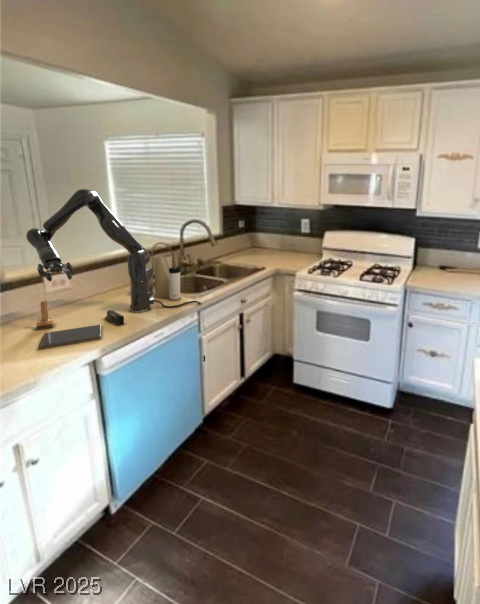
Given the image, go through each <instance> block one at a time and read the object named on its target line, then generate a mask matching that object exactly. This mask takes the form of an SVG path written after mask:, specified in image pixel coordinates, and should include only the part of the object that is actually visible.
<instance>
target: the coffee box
mask: <svg viewBox="0 0 480 604" xmlns="http://www.w3.org/2000/svg"><path fill="white" fill-rule="evenodd" d="M153 269H154V268H153V267H146V273H148V274H149V293H150V296H151V295H152V294H153V293H154V271H153Z"/></svg>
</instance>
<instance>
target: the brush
mask: <svg viewBox="0 0 480 604" xmlns="http://www.w3.org/2000/svg"><path fill="white" fill-rule="evenodd" d="M48 309H49V307H48V300H46V299H45V300H44V299H43V300H40V314H41V315H40V316H41V317H40V318H41V319H37V320H36V322H35V326H36V330H37V331H39V330H48V329H53V328H54V325H55V324H54V323H55V322H54V321H55V318H54V317H49V310H48Z"/></svg>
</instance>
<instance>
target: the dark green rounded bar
mask: <svg viewBox="0 0 480 604" xmlns="http://www.w3.org/2000/svg"><path fill="white" fill-rule="evenodd" d="M104 318H105V319H107V320H109V322H112V323H114V324H115V325H117V326H123V325H125V316H124V315H122V314H121V313H119V312H117V311H116V310H114V309H108V310H107V311H106V316H104Z"/></svg>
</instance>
